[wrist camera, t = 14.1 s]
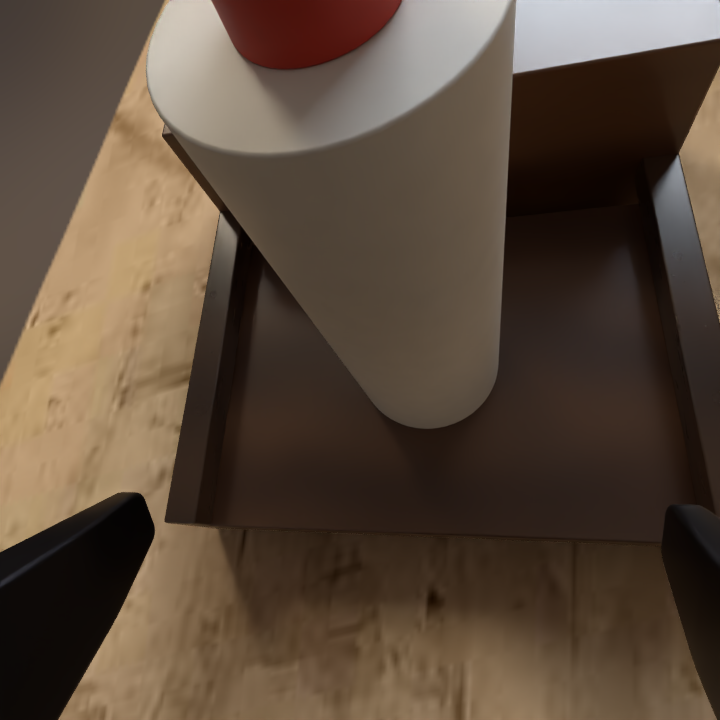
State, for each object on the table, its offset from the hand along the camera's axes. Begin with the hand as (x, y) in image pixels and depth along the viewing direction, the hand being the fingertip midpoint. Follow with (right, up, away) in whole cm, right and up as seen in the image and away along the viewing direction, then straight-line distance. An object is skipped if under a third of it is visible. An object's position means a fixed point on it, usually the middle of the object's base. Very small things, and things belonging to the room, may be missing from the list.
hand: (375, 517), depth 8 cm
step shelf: (+3, +5, +13) cm, 14 cm away
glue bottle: (+2, +3, +10) cm, 10 cm away
